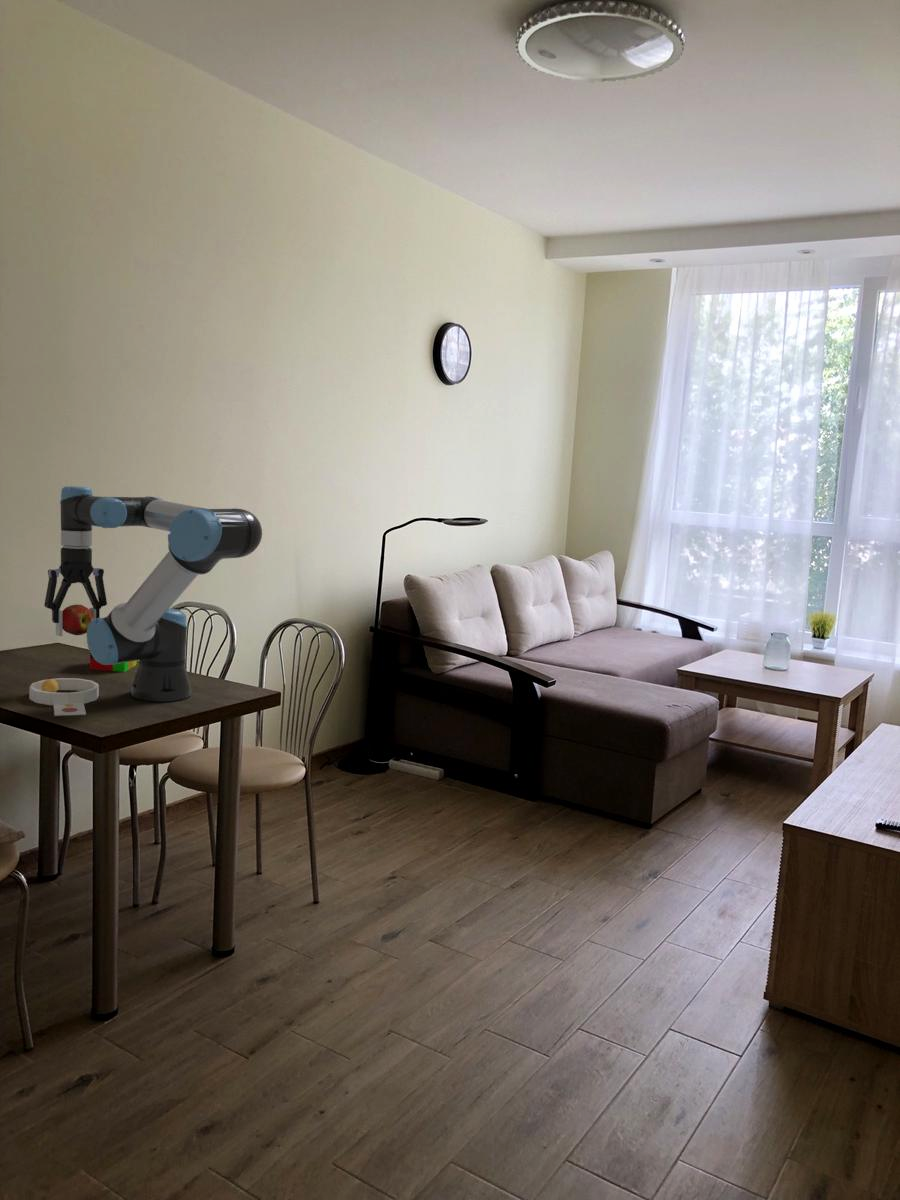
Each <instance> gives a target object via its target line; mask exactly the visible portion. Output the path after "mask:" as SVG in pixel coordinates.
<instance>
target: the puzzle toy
mask: <svg viewBox="0 0 900 1200" xmlns="http://www.w3.org/2000/svg"><path fill="white" fill-rule="evenodd" d="M89 653H90V652H89ZM137 663H138V660H136V661H130V662H125V663H119V664H115V665H112V664H110V665H103V664H101V663H98V662H97V661H96V660H95V659H94V658H93V656H92V655H91V653H90V654H89V670H93V669H97V670H96V671H105V670H108V671H107V672H120V673H123V672H124V673H125V672H127V671H129V670H131V669H132V668H133V667H136V666H137Z"/></svg>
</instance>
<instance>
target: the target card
mask: <svg viewBox="0 0 900 1200" xmlns="http://www.w3.org/2000/svg"><path fill="white" fill-rule="evenodd" d="M53 715H54V717H58V716H86V715H87V712H86V708H85V704H84V702H83V703H72V704H54V705H53Z"/></svg>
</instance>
